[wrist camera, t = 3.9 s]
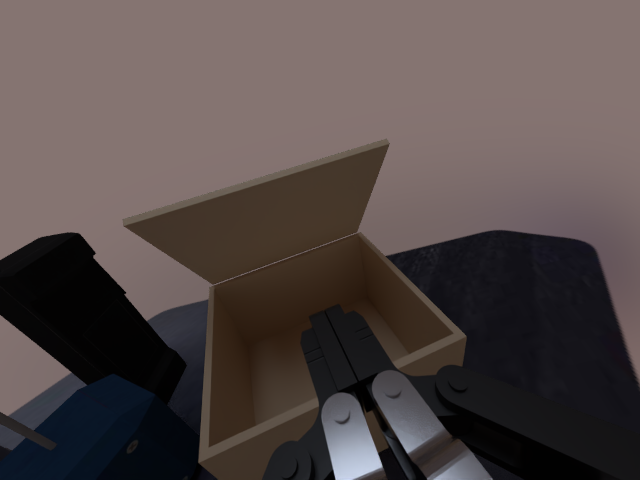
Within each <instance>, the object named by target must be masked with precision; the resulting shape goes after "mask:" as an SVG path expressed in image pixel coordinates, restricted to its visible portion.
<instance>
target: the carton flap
mask: <svg viewBox="0 0 640 480" xmlns="http://www.w3.org/2000/svg"><path fill="white" fill-rule="evenodd" d="M389 144H390V143H389V142H388V140H387V139H384V140H381V141H378V142H374V143H371V144H368V145H365V146H361V147H358V148H355V149H351V150H348V151H345V152H342V153H338V154H335V155H332V156H329V157H325V158H322V159H319V160H316V161H312V162H309V163H306V164H302V165H299V166H296V167H293V168H289V169H286V170H283V171H280V172H276V173H273V174H270V175H266V176H263V177H260V178H257V179H253V180H250V181H247V182H244V183H241V184H237V185H234V186H231V187H227V188H224V189H221V190H218V191H215V192H211V193H208V194H205V195H201V196H198V197H194V198H191V199H188V200H185V201H181V202H178V203H175V204H172V205H169V206H165V207H162V208H159V209H155V210H152V211H149V212H145V213H142V214H139V215H136V216H132V217H129V218H126V219H123V225H124V227H126V228H127V229H129V230H130V231H132V232H134V233H135V234H137V235H138V236H140V237H141V238H143V239H144V240H146V241H147V242H149V243H150V244H152V245H153V246H155V247H156V248H158V249H159V250H161V251H162V252H164V253H166V254H167V255H169V256H170V257H172V258H173V259H175V260H176V261H178V262H179V263H181V264H182V265H184V266H185V267H187V268H189V269H190V270H191V271H193V272H195V273H196V274H198V275H199V276H201V277H202V278H204V279H205V280H207V281H208V282H210V283H211V284H216V283H219V282H221V281H224V280H227V279H230V278H232V277H235V276H238V275H241V274H243V273H246V272H249V271H251V270H254V269H257V268H260V267H263V266H265V265H268V264H271V263H273V262H276V261H279V260H282V259H284V258H287V257H290V256H293V255H295V254H298V253H301V252H304V251H306V250H309V249H312V248H315V247H317V246H320V245H323V244H326V243H329V242H331V241H334V240H337V239H339V238H342V237H345V236H348V235H350V234H353V233H356V232H357V231H358V228H359V225H360V223H361V220H362V217H363V214H364V212H365V209H366V206H367V203H368V201H369V198H370V196H371V193H372V190H373V187H374V185H375V182H376V179H377V177H378V174H379V171H380V168H381V166H382V163H383V160H384V157H385V155H386V152H387V149H388V147H389Z"/></svg>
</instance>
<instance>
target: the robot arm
mask: <svg viewBox="0 0 640 480" xmlns="http://www.w3.org/2000/svg"><path fill="white" fill-rule="evenodd" d="M309 319H310V322H311V325H312V328H310V329H308V330H305V331H303V332H302V334H301V341H300V344H301V347H302V350H303V354H304V357H305V360H306V363H307V366H308V369H309V372H310V376H311V379H312V382H313V385H314V388H315V391H316V395H317V398H318V402H319V411H318V415H317V418H316V421H315V423H314V424H313V426H312V427H311V428H310V429H309V430H308V431H307V432H306V433H305V434H304V435H303V436H302V437H301V438H300V439H299V440H298V441H287V442H284V443H283V444H281V445H280V446H279V447H277V449H276V450H275V451H274V452H273V454H272V456H271V458H270V460H269V462H268V465H267V468H266V470H265V473H264V475H263V478H262V480H388V479H387V477H386V474H385V472H384V469H383V467H382V464H381V461H380V458H379V456H378V453H377V450H376V447H375V445H374V442H373V439H372V436H371V434H370V431H369V428H368V426H367V422H366V418H365V412H364V409H365V411H366V413H368V412H370V411H373V413H374V416H375V418H376V420H377V422H378V425H379V429H380V432H381V434H382V436H383V438H384V439H385V441H386V443H387V445H388V447H389V448H390V450H391V452H392V454H393V456H394V458H395V459H396V461H397V463H398V465H399V467H400V468H401V470H402V472H403V474H404V476H405V477H406V479H407V480H493V479H492V478H491V477H490V475H489V474H488V473H487V471H486V470H485V469H484V468H483V466H482V465H481V464H480V462H479V461H478V460H477V459H476V457H475V456H474V455H473V454H472V452H473V453H475V454H477V455H479V456H481V457H483V458H485V459H487V460H489V461H490V462H492V463H494V464H496V465H498V466H500V467H502V468H504V469H506V470H507V471H509V472H511V473H513V474H515V475H517V476H519V477H521V478H523V479H524V480H640V434H638V433H635V432H633V431H630V430H627V429H625V428H622V427H619V426H617V425H614V424H612V423H609V422H606V421H604V420H601V419H598V418H596V417H593V416H590V415H588V414H585V413H583V412H580V411H577V410H575V409H572V408H569V407H567V406H564V405H561V404H559V403H556V402H554V401H551V400H548V399H546V398H543V397H540V396H538V395H535V394H532V393H530V392H527V391H525V390H522V389H519V388H517V387H514V386H511V385H509V384H506V383H503V382H501V381H498V380H496V379H493V378H490V377H488V376H485V375H482V374H480V373H477V372H474V371H472V370H469V369H467V368H464V367H461V366H458V365H446V366H443V367H442V368H440V369H439V370H438V372H437V374H436V375H426V376H411V375H407V374H405V373H403V372H401V371H400V370H399V369H397V368H396V367H395V365H394V364H393V363H392V361H391V360H390V358H389V356H388V355H387V353H386V352H385V350H384V349H383V347H382V346H381V344H380V342H379V341H378V339H377V338H376V336H375V335H374V333H373V331H372V330H371V328H370V327H369V325H368V324H367V322H366V320H365V319H364V317H363V316H361V315H360V314H358V313H357V312H356V311H354V310H353V311H351V312H348V313H346V314H345V313H344V311H343V309H342V308H341V306H340V305H339V304H337V305H334V306H332V307H329V308H327V309H324V311H323V310H322V311H320V312H317V313H315V314H312V315H310V316H309ZM11 451H12V450H10V449H8V448H4V447H2V446H0V461H2V460H3V459H4V458H5V457H6V456H7V455H8V454H9V453H10V452H11ZM471 451H472V452H471Z"/></svg>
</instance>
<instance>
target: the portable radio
mask: <svg viewBox="0 0 640 480" xmlns="http://www.w3.org/2000/svg"><path fill="white" fill-rule="evenodd" d="M95 254H96V253H95V251H94V250H93V249H92V248H91V247H90V246H89V244H88V243H87V242H86V241H85V239H84V238H83V237H82V236H81V235H80V234H79V233H62V234H57V235H51V236H46V237H41V238H38V239H36V240H35V241H33V242H31V243H29V244H28V245H26V246H24V247H22V248H21V249H19V250H17V251H15V252H14V253H12V254H10V255H8V256H7V257H5V258H3V259H2V260H0V315H1V316H3V317H4V318H5V319H6V320H7V321H9V322H10V323H11V324H12V325H14V326H15V327H16V328H17V329H19V330H20V331H21V332H23V333H24V334H25V335H26V336H27V337H29V338H30V339H31V340H32V341H34V342H35V343H36V344H37V345H39V346H40V347H41V348H42V349H44V350H45V351H46V352H47V353H49V354H50V355H51V356H52V357H54V358H55V359H56V360H57V361H59V362H60V363H61V364H62V365H63V366H65V367H66V368H67V369H69V371H71V372H72V373H73V374H74V375H76V376H77V377H78V378H79V379H80V380H82V381H83V382H84V383H85V384H87V385H90V384H92V383H94V382H96V381H98V380H100V379H103V378H105V377H107V376H109V375H111V374H115V375H117V376H119V377H121V378H123V379H125V380H127V381H129V382H131V383H133V384H135V385H137V386H139V387H141V388H143V389H145V390H147V391H149V392H151V393H153V394H155V395H157V396H158V397H159V398H160V399H161V400H162V401H163V402H164V403H165V404H166V405H167V403H168V401H169V399H170V397H171V395H172V393H173V391H174V389H175V387H176V385H177V383H178V381H179V379H180V377H181V375H182V373H183V371H184V369H185V367H186V363H185V362H184V360H183V359H182V358H181V357H180V356H179V354H178V353H177V352H176V351H174V350H173V349H171V348H169V347H168V346H167V345H166V344H165V343H164V341H163V340H162V339H161V338H160V337H159V336H158V334H157V333H156V332H155V331H154V330H153V328H152V327H151V326H150V325H149V324H148V322H147V321H146V320H145V319H144V318H143V317H142V315H141V314H140V313H139V312H138V311H137V309H136V308H135V307H134V306H133V305H132V303H131V302H129V300H128V299H127V298H126V296H125V295H124V294H126V292H125V291H124V290H123V289H122V288H121V287H120V286H119V285H118V284H117V282H116V281H115V280H114V279H113V278H112V277H111V276H110V275H109V274H108V273H107V272H106V271H105V270H104V269H103V268H102V267H101V266H100V265H99V264H98V262H97V261H96V260H95V259H94V258H93V255H95Z"/></svg>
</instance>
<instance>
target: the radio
mask: <svg viewBox="0 0 640 480" xmlns="http://www.w3.org/2000/svg"><path fill="white" fill-rule="evenodd" d="M0 424H2V425H4V426H6V427H7V428H9V429H11V430H13V431H15V432H17V433H19V434H21V435H22V436H24V437H26V438H25V439H24V440H23V441H22V442H21V443H20V444H19V445H18V446H17V447H16V448H14V449H13V450H12V451H11V452H10V453H9V454H8V455H7V456H6V457H5V458H4V459H3V460H2V461H0V480H190V479H191V477H192V475H193V474H194V471H195V468H196V465H197V462H198V459H199V447H200V437H199V436H198V435H197V434H196V433H195V432H194V431H193V430H192V429H191V428H190V427H189V426H188V425H187V424H186V423H185V422H184V421H183V420H182V419H181V418H180V417H179V416H177V415H176V414H175V413H174V412H173V411H172V410H171V409H170V408H169V407H168V406H167V405H166V404H165V403H164V402H163V401H162V400H161V399H160V398H159V397H158V396H157V395H155V394H153V393H151V392H149V391H147V390H145V389H143V388H141V387H139V386H137V385H135V384H133V383H131V382H129V381H127V380H125V379H123V378H121V377H119V376H117V375H115V374H111V375H109V376H107V377H105V378H103V379H100V380H98V381H96V382H94V383H92V384H90V385H88V386H85V387H83V388H81V389H79V390H77V391H76V392H75V393H74V394H73V395H72V396H71V397H70V398H68V399H67V400H66V401H65V402H64V403H63V404H62V405H61V406H60V407H59V408H58V409H57V410H56V411H54V412H53V413H52V414H51V415H50V416H49V417H48V418H47V419H46V420H45V421H44V422H43V423H41V424H40V425H39V426H38V427H37V428H36V429H35V430H34V431H33V430H31V429H30V428H28V427H26V426H24V425H22V424H21V423H19V422H17V421H15V420H14V419H12V418H10V417H8V416H6V415H5V414H3V413H1V412H0Z"/></svg>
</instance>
